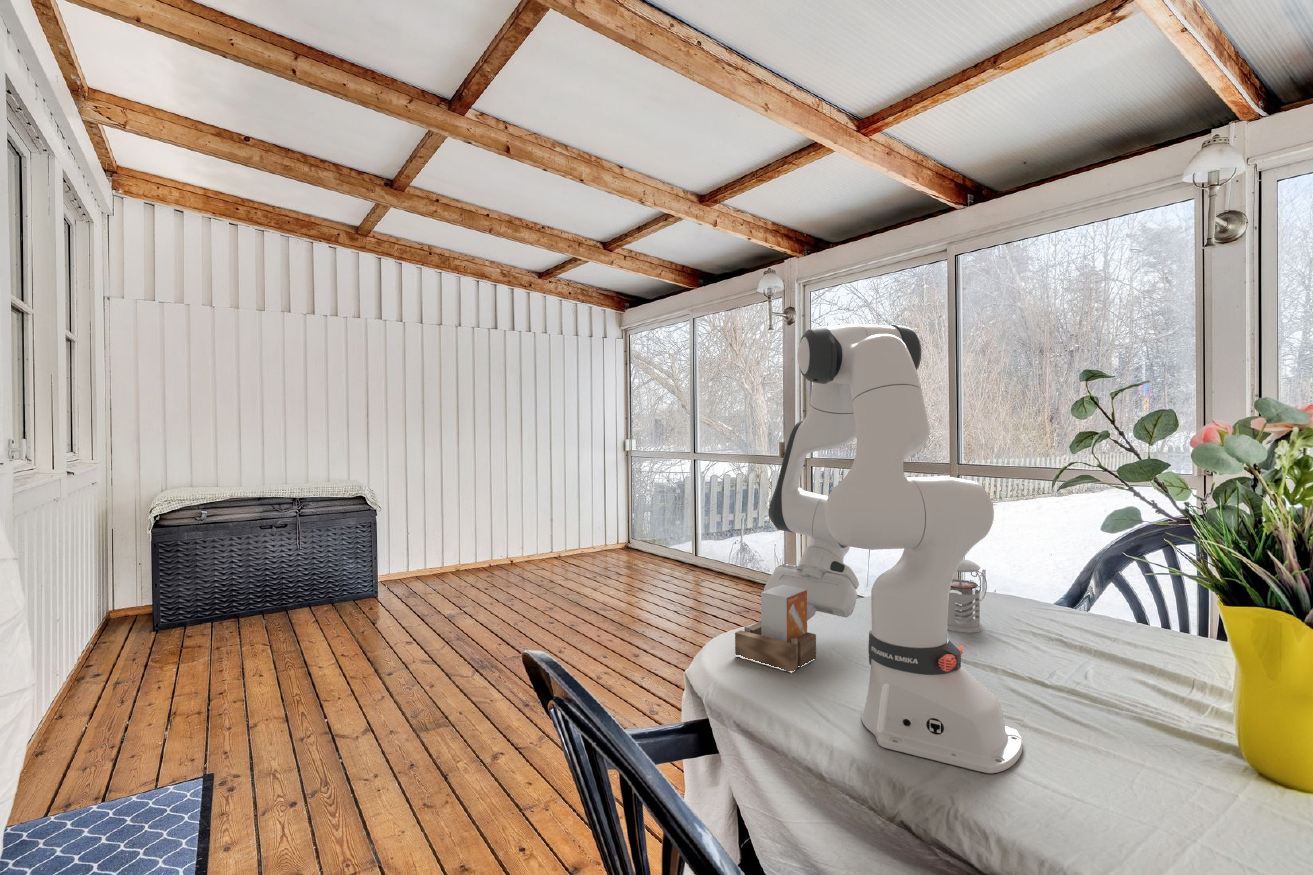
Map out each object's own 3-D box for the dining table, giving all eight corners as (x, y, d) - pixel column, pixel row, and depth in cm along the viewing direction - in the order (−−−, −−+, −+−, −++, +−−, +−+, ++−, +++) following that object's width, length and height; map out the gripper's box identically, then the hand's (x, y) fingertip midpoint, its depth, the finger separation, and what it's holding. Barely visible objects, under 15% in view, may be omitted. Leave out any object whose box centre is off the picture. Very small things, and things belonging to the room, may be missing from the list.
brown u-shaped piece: (816, 658, 128) (815, 631, 128) (791, 673, 121) (790, 644, 121) (761, 644, 137) (761, 618, 137) (735, 656, 130) (734, 629, 130)
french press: (927, 621, 150) (927, 515, 149) (967, 615, 153) (967, 511, 152) (959, 634, 140) (958, 521, 139) (1001, 628, 144) (1001, 517, 143)
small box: (787, 662, 126) (786, 597, 126) (760, 654, 131) (759, 591, 130) (808, 651, 132) (807, 588, 132) (782, 644, 137) (781, 583, 136)
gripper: (772, 554, 147) (749, 607, 140) (856, 568, 133) (834, 626, 126) (783, 570, 150) (760, 622, 143) (866, 584, 136) (845, 642, 129)
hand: (796, 624), depth 135 cm, fingers closed, pressing on small box
